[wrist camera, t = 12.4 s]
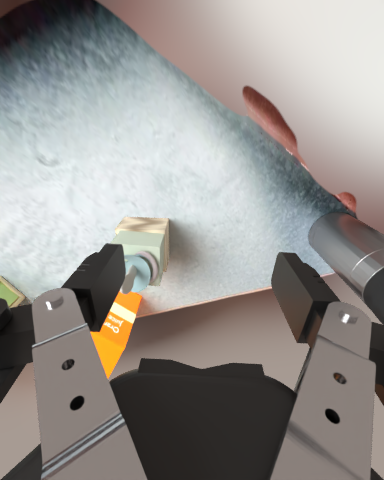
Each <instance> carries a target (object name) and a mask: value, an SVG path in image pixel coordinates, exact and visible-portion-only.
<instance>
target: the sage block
mask: <svg viewBox="0 0 384 480" xmlns="http://www.w3.org/2000/svg"><path fill="white" fill-rule="evenodd" d="M110 244H122V246H123V251H124V255H135V254H136V253H137V252H140V251H145V252H147V253H149V254H150V255H152V256H153V258H154V259H155V261H156V263H157V266H158V275H157V277H156V279H155V280H154V281H153V282H151V283H149V284H148V285H151V286H160V282H161V278H162V274H163V267H164V234H162V233H149V232H136V231H123V230H120V231H119V232H118V234H117V235H116V236H115V238H114V239H113V240H112V242H111V243H110ZM141 258H143V259H144V260H145V261H146V262H147V264H148V265H149V268H150V277H151V276H152V274H153V268H152V265H151V263H150V261H149V260H148V259H146V258H145V257H141ZM125 261H126V262H127V261H128V260H127V259H125Z"/></svg>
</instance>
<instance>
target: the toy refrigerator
mask: <svg viewBox="0 0 384 480" xmlns="http://www.w3.org/2000/svg"><path fill="white" fill-rule="evenodd" d="M0 298H2V299H5V300H6V301H7V303H8V306H9V308H12V307H17V306H18V305H19V304H20V303H21V302H22V301H23V299H24V298H25V296H24V295H23V294H22V293H21V292H19V291H18V290H17V289H16V288H15V287H13V286H12V285H11V284H10V283H9V282H7V281H6V280H5V279H4V278H3V277H2V276H0Z"/></svg>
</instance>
